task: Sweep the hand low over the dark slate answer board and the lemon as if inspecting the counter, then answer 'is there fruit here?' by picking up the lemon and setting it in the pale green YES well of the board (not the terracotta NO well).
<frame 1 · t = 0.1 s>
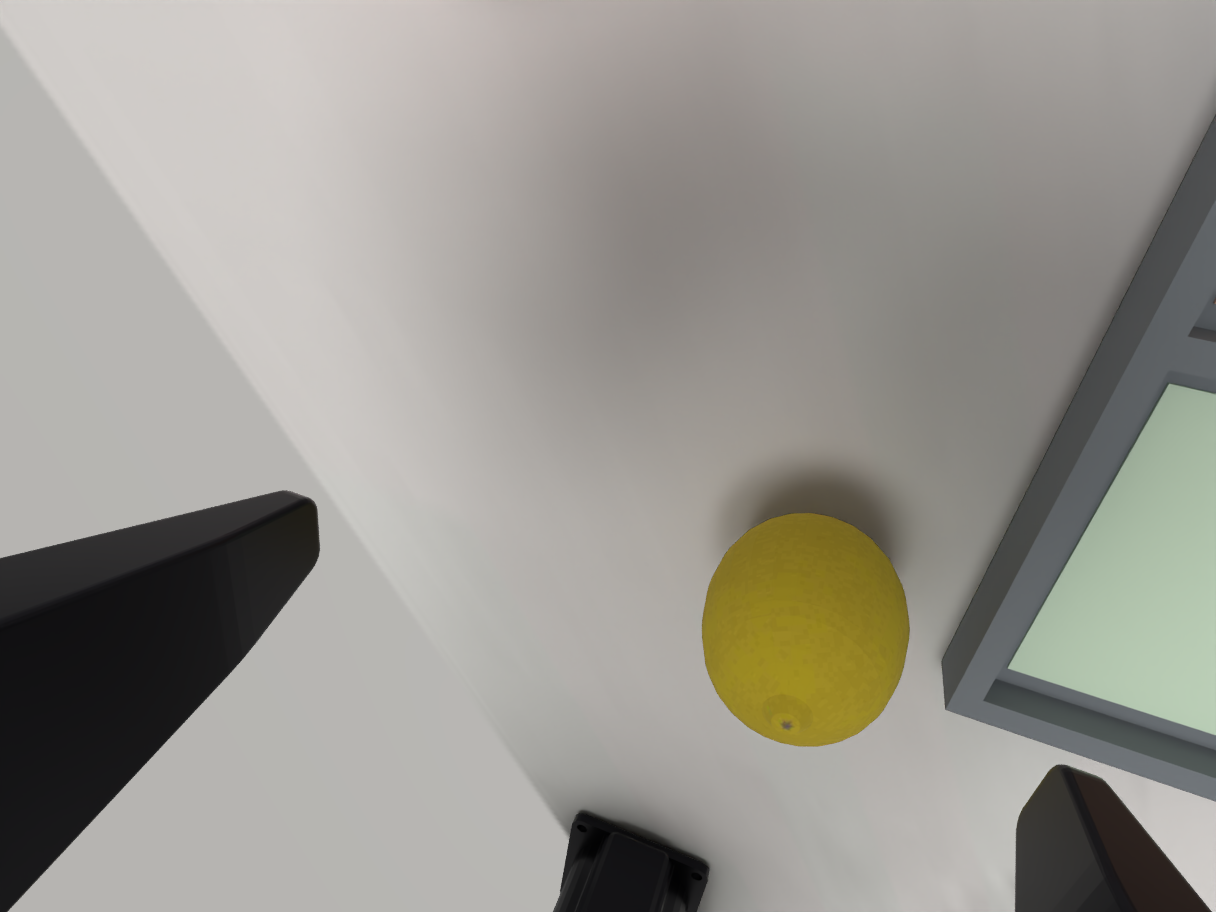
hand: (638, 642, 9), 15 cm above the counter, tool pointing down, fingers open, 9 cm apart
lemon: (816, 540, 24), on the counter
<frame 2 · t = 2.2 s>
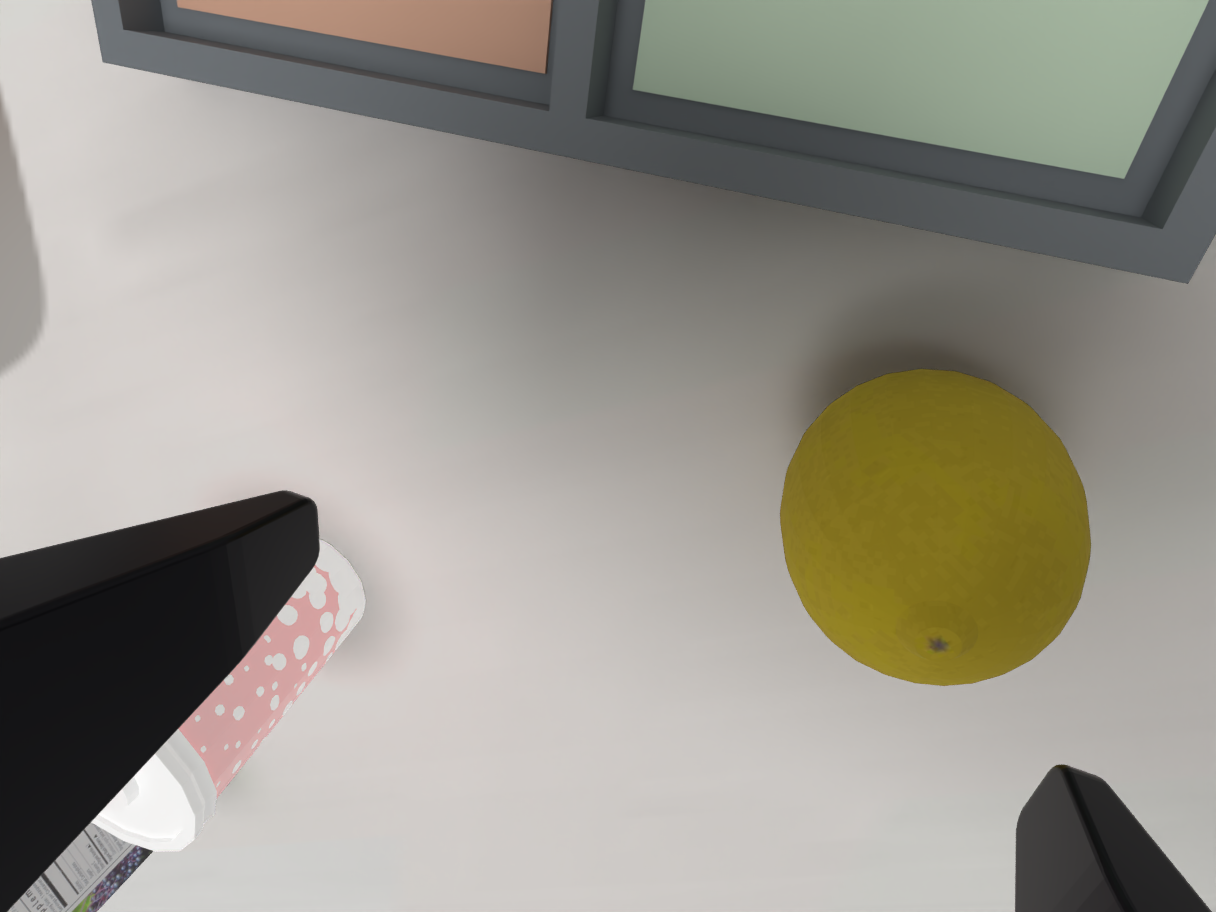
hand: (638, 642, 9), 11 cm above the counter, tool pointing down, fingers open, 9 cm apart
beverage cup: (315, 578, 28), on the counter
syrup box: (171, 712, 36), on the counter
lemon: (911, 427, 18), on the counter
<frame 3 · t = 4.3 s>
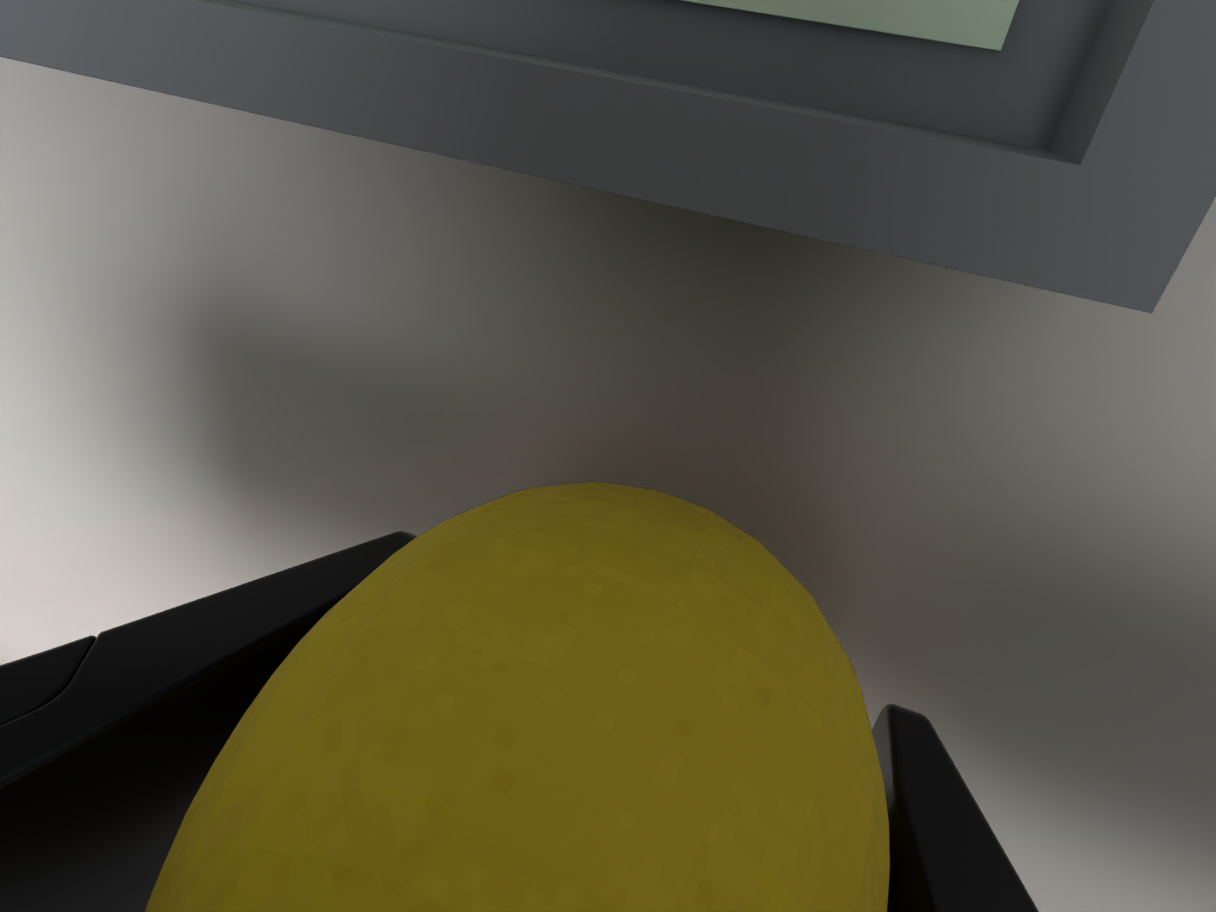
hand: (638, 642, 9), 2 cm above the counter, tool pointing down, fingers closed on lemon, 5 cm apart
lemon: (676, 556, 10), on the counter, touching gripper
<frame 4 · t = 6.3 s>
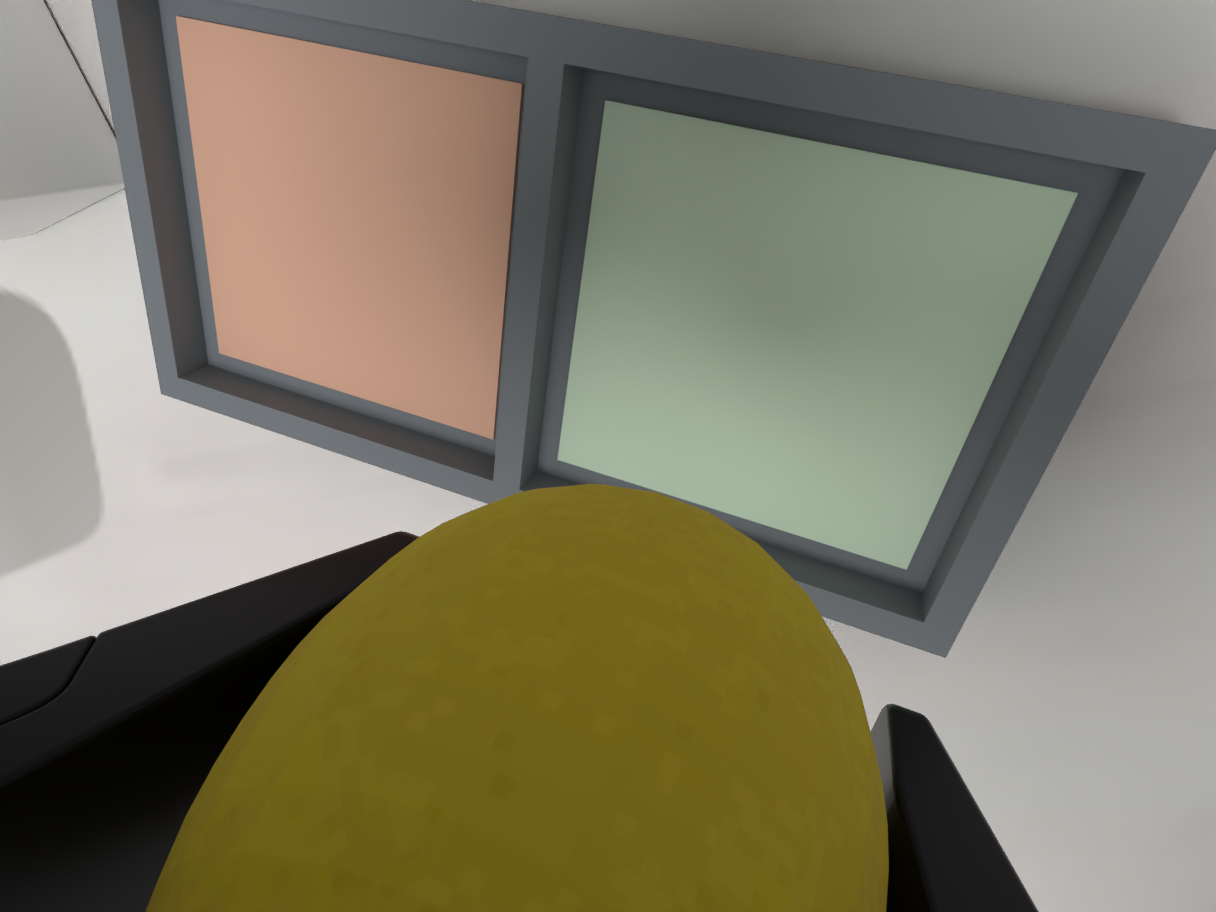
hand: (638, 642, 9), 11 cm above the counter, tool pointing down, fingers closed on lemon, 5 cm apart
answer board: (558, 282, 19), on the counter
milk: (37, 114, 23), on the counter
lemon: (675, 557, 10), point 10 cm above the counter, touching gripper
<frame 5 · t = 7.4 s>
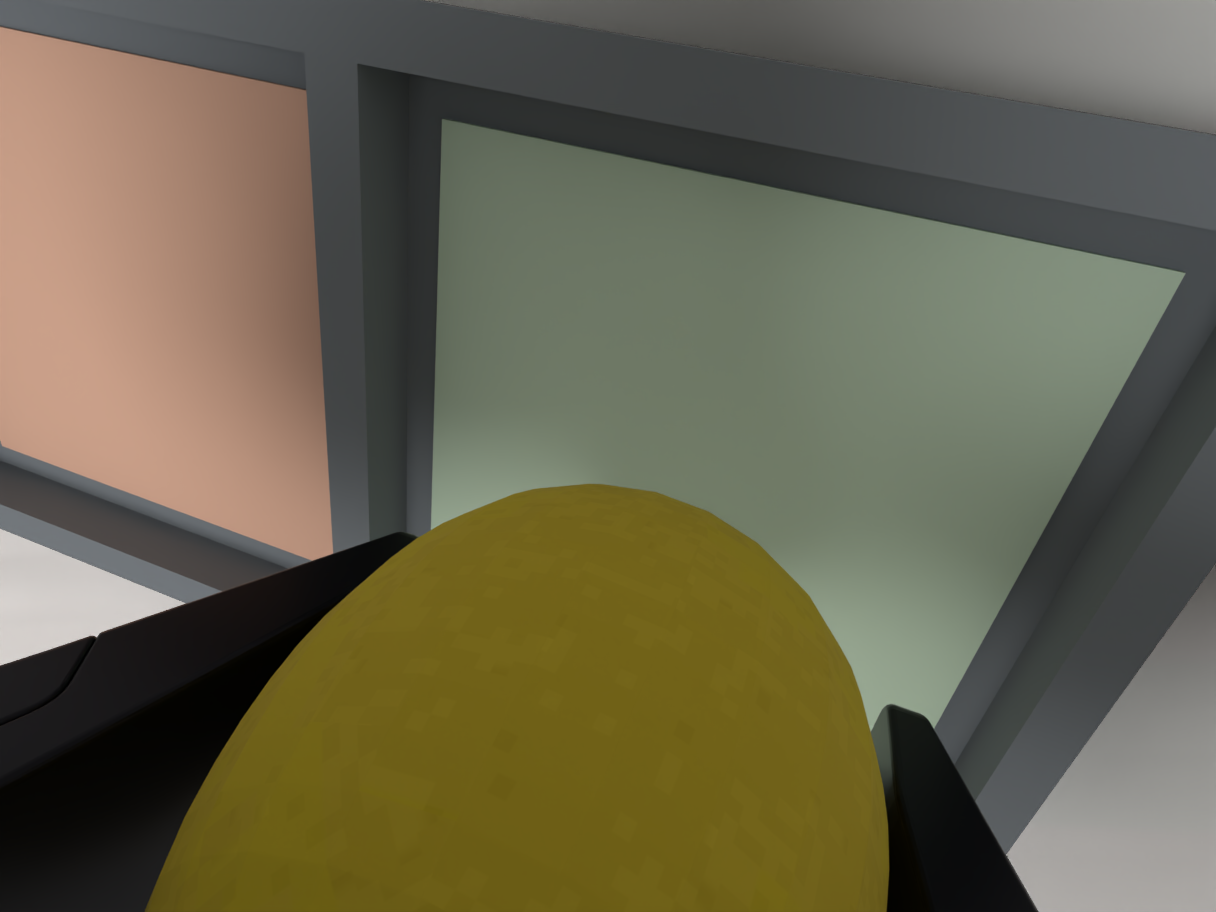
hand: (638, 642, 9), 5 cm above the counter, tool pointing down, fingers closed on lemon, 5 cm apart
answer board: (418, 369, 14), on the counter
lemon: (675, 557, 10), point 3 cm above the counter, touching gripper
when the fingers open (4 cm above the counter, at t = 8.1 s): lemon stays where it is, resting on answer board.
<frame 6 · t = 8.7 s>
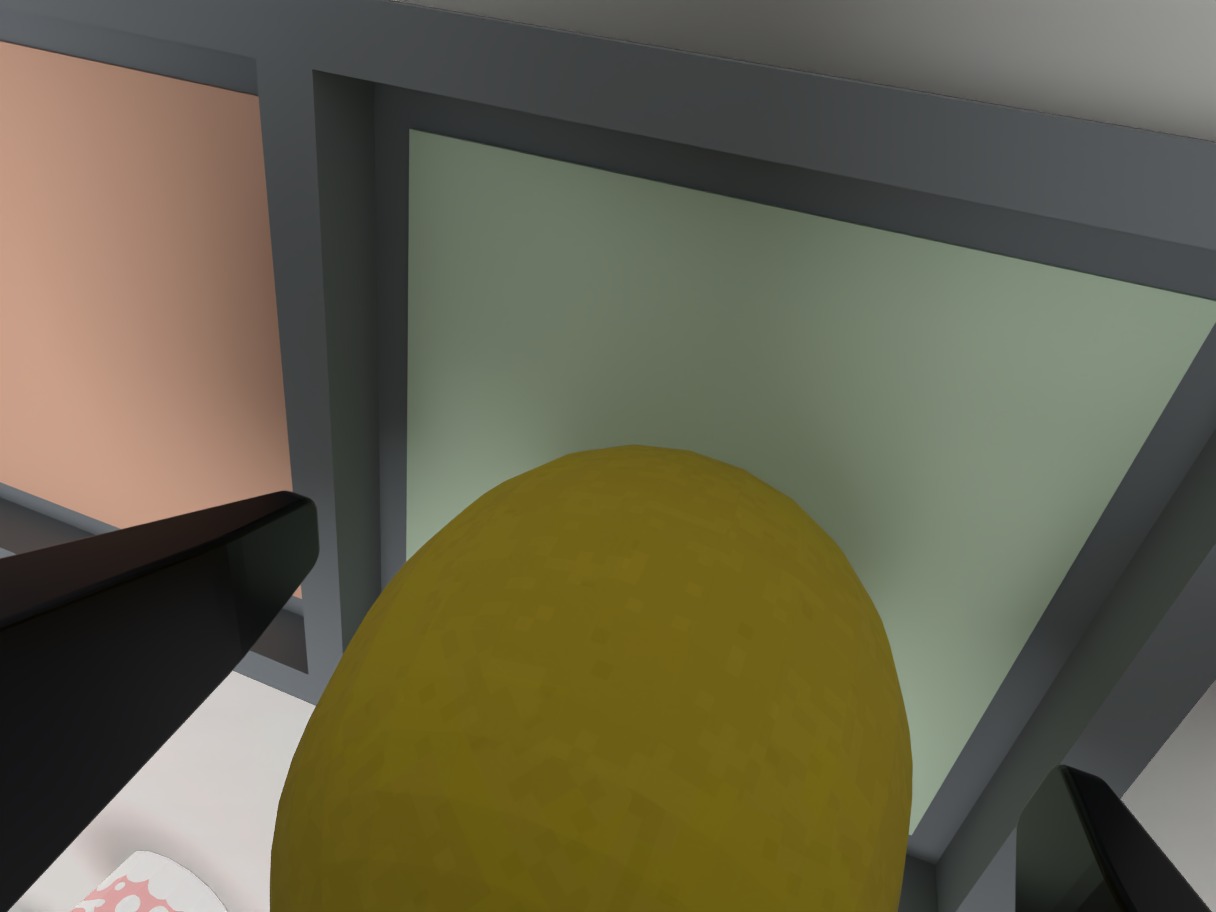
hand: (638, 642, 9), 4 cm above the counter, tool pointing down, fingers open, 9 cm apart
beverage cup: (183, 890, 27), on the counter
answer board: (392, 392, 13), on the counter
lemon: (699, 522, 11), point 1 cm above the counter, touching answer board
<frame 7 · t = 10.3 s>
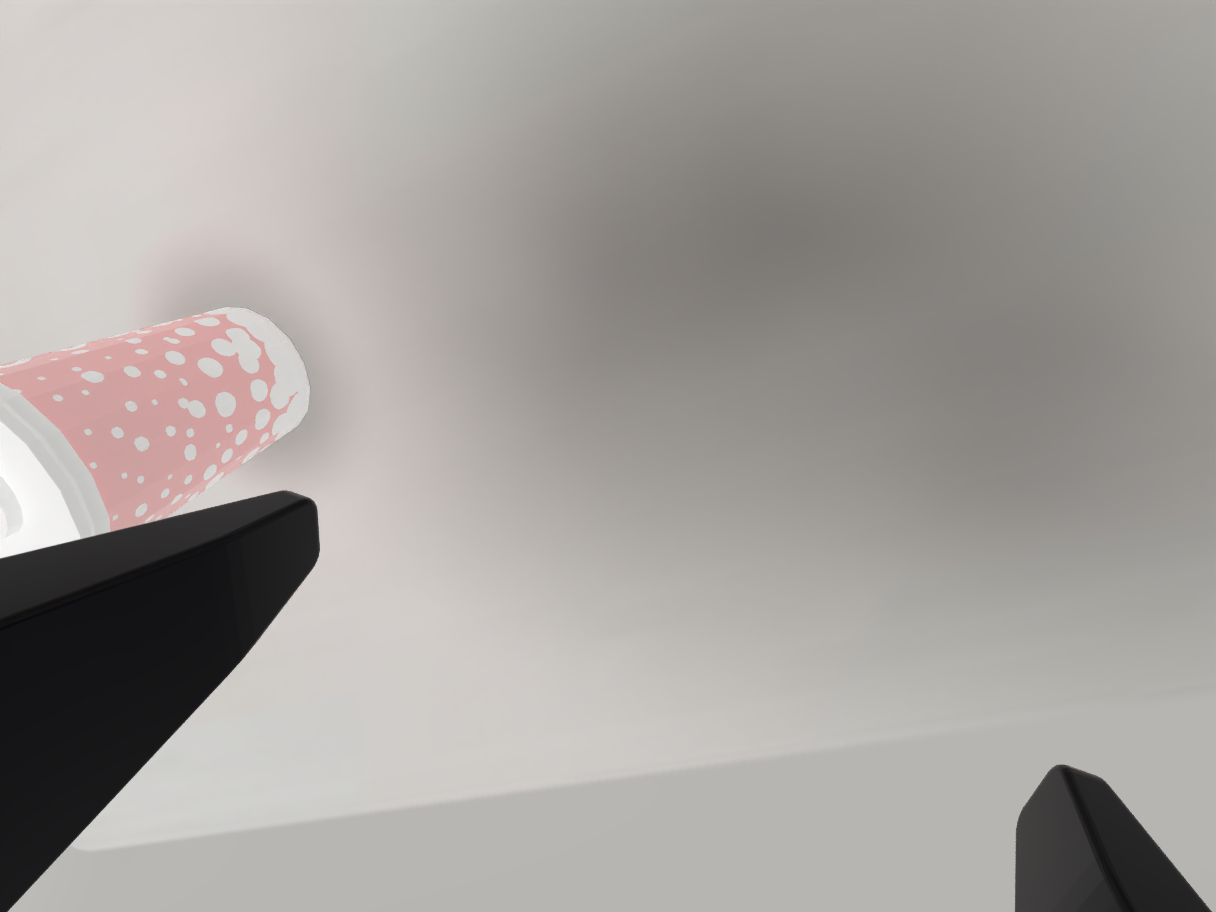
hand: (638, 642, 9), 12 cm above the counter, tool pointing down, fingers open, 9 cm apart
beverage cup: (258, 370, 25), on the counter
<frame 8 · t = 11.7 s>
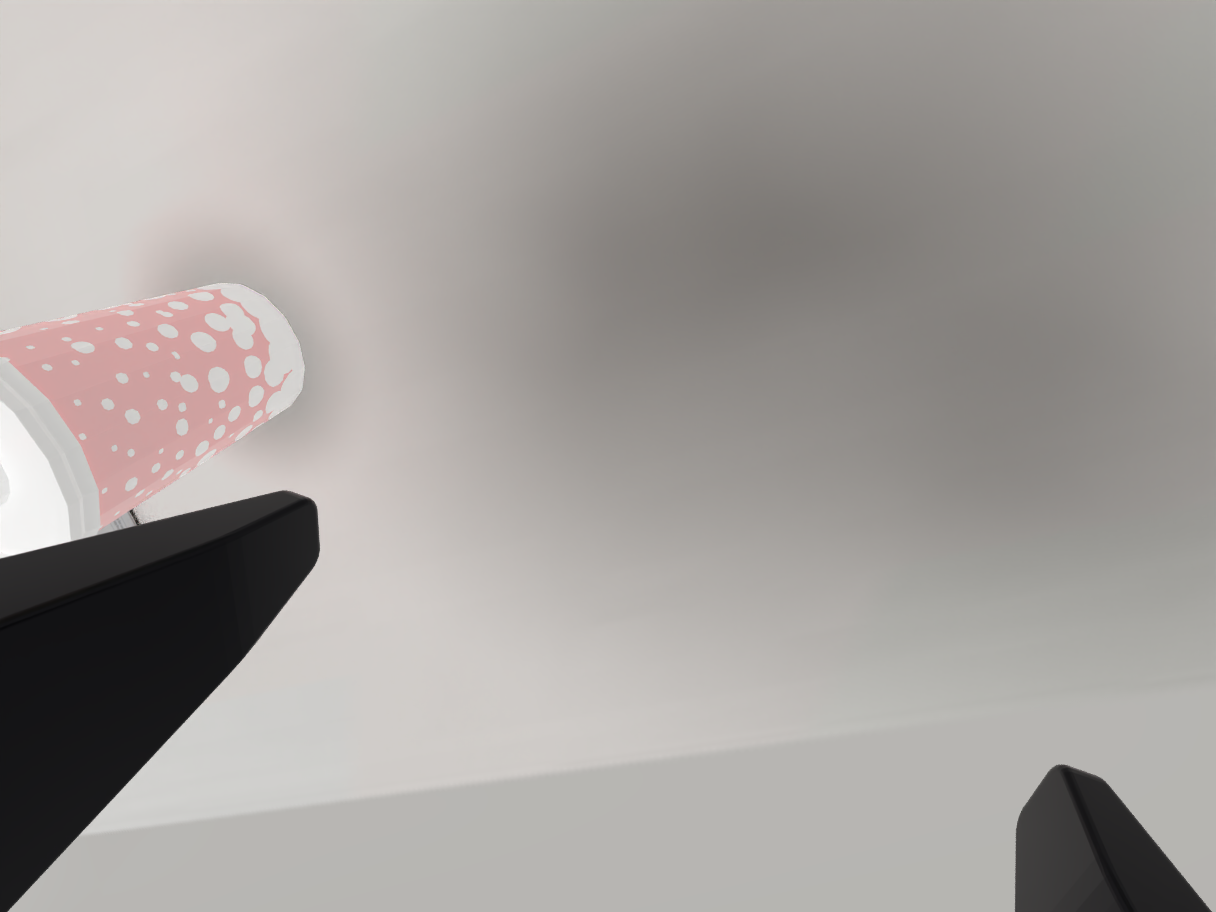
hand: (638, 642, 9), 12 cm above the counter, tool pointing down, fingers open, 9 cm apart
beverage cup: (252, 347, 25), on the counter
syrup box: (114, 543, 33), on the counter
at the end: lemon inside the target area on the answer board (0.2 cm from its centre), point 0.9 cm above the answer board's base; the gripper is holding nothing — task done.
